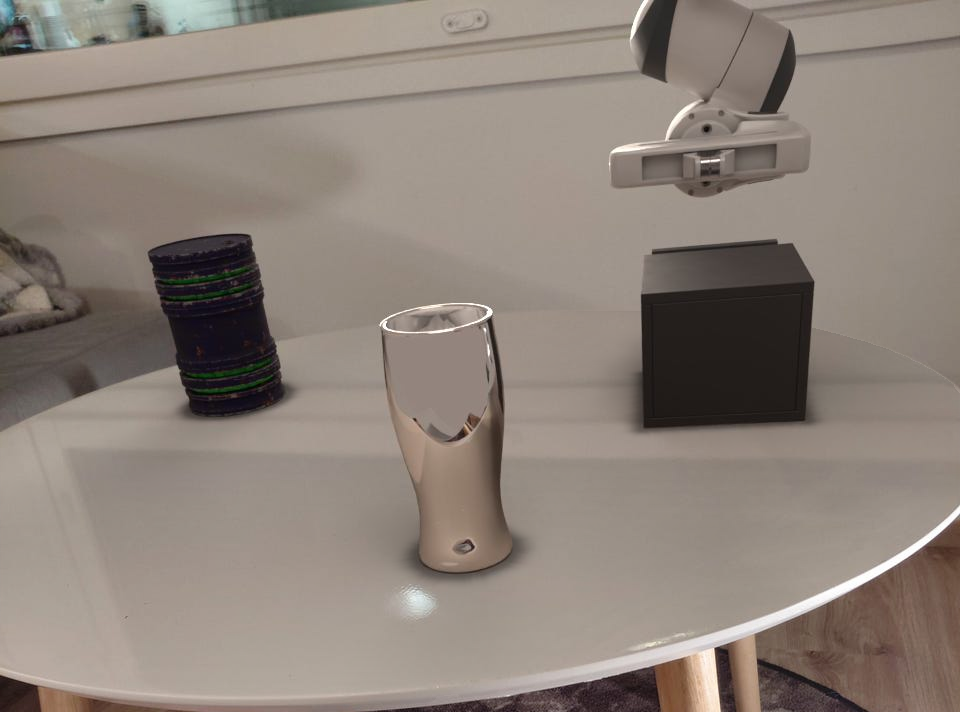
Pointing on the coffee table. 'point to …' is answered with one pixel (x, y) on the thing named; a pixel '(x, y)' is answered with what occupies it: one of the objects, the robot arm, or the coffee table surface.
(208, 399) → the storage jar
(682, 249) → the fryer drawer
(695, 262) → the cabinet
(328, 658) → the coffee table surface
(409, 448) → the beer glass
